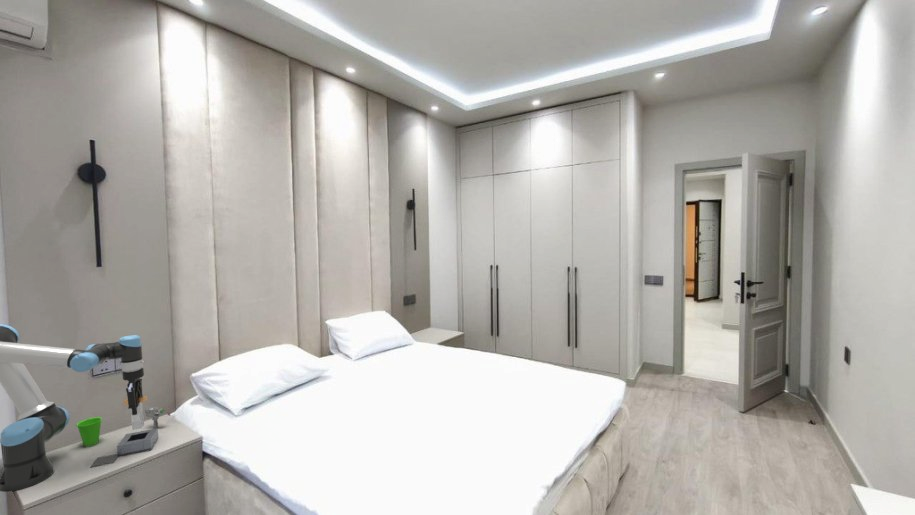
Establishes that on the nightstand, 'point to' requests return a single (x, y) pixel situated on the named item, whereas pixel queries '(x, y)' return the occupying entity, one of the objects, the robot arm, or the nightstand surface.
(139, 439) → the chuck block
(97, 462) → the mat
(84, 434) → the cup
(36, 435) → the robot arm
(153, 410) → the mechanical component
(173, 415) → the nightstand surface
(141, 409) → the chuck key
